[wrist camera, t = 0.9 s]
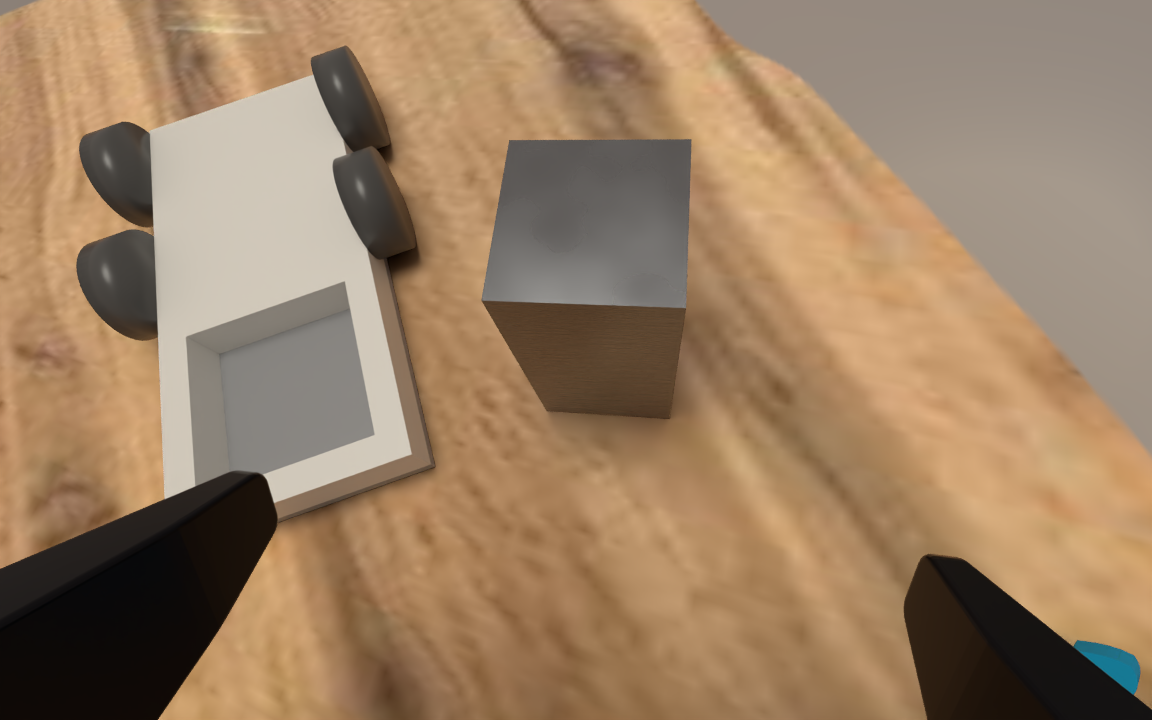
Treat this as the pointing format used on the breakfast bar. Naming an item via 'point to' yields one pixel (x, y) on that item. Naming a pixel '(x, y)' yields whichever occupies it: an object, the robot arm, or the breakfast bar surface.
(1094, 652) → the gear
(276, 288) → the chassis
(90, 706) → the robot arm
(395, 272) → the breakfast bar surface
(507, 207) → the block
